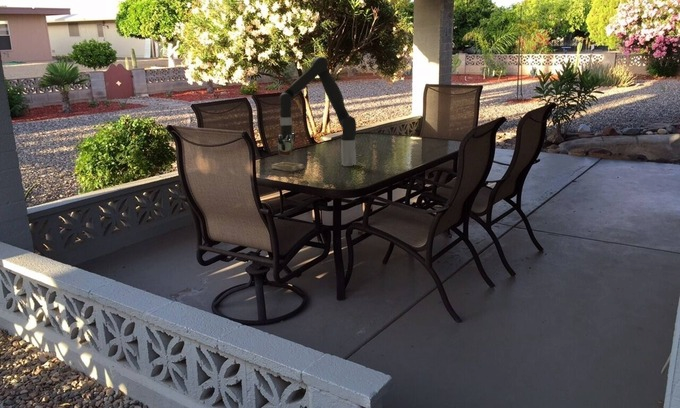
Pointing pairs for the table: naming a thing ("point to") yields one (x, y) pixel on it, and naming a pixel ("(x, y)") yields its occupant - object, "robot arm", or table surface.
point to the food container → (286, 148)
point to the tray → (287, 166)
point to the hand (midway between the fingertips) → (287, 149)
